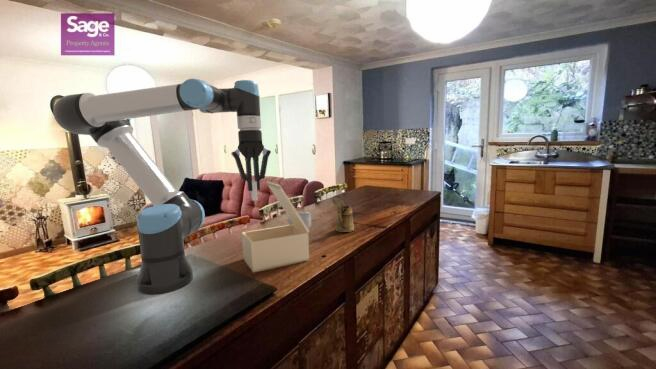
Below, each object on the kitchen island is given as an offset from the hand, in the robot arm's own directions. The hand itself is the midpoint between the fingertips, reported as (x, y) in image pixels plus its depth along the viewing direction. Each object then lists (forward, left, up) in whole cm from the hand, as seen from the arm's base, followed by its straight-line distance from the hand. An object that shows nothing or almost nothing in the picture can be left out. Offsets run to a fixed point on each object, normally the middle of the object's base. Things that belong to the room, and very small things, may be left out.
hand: (254, 200), depth 105 cm
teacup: (+29, +30, -23) cm, 48 cm away
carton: (+6, 0, -23) cm, 23 cm away
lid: (+11, 0, -4) cm, 12 cm away
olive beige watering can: (+44, +17, -23) cm, 53 cm away
